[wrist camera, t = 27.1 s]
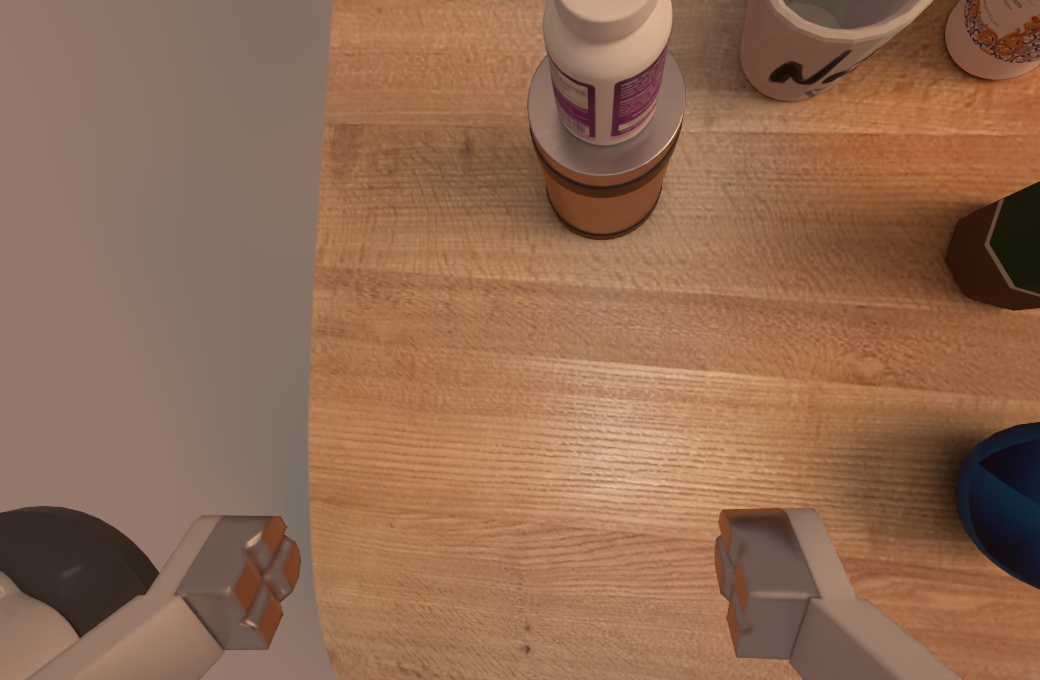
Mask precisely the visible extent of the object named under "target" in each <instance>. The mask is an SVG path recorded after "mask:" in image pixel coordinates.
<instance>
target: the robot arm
mask: <svg viewBox="0 0 1040 680" xmlns="http://www.w3.org/2000/svg"><path fill="white" fill-rule="evenodd" d="M718 523H719V527H720V531H721V535H720V536H719V537H718V538H716V543H715V567H716V574H717V580H718V584H719V588H720V593H721V594H722V595H723V596H724V597H725V598H726V599H727V600H728V601H729V607H728V613H727V622H728V626H729V630H730V634H731V638H732V642H733V646H734V650H735V654H736V657H739V658H762V659H785V660H790V662H789V663H790V664H791V665H792V666H793V668H794V669H795V670H796V671H797V672H798V674H799V675H800V676H801V677H802V678H803V679H804V680H963V679H961V678H960V677H959V676H958V675H957V674H956V673H954V672H953V671H952V670H951V669H950V668H948V667H947V666H946V665H945V664H944V663H943V662H941V661H940V660H939V659H938V658H937V657H935V656H934V655H933V654H932V653H931V652H929V651H928V650H927V649H926V648H925V647H924V646H922V645H921V644H920V643H919V642H918V641H916V640H915V639H914V638H913V637H912V636H911V635H909V634H908V633H907V632H906V631H905V630H903V629H902V628H901V627H900V626H899V625H898V624H896V623H895V622H894V621H893V620H892V619H890V618H889V617H888V616H887V615H886V614H884V613H883V612H882V611H881V610H880V609H879V608H877V607H876V606H875V605H874V604H873V603H871V602H870V601H869V600H868V599H857V597H856V594H855V592H854V590H853V588H852V586H851V583H850V581H849V579H848V577H847V575H846V572H845V570H844V568H843V566H842V564H841V561H840V559H839V557H838V555H837V553H836V550H835V548H834V546H833V544H832V542H831V539H830V537H829V535H828V533H827V531H826V528H825V526H824V524H823V522H822V520H821V517H820V515H819V513H818V512H817V511H816V510H815V509H813V508H797V509H780V508H762V509H725V510H722V511H721V513H720V516H719V522H718ZM286 529H287V526H286V524H285V522H284V521H283V519H282V518H281V516H228V515H219V516H218V515H217V516H201V517H199V518H198V519H197V520H195V521H194V522H193V523H192V524H191V526H190V527H189V529H188V530H187V532H186V533H185V535H184V537H183V538H182V540H181V541H180V543H179V544H178V546H177V547H176V549H175V550H174V552H173V553H172V555H171V556H170V558H169V559H168V561H167V563H166V564H165V566H164V567H163V569H162V570H161V572H160V573H159V575H158V576H157V578H156V579H155V581H154V582H153V584H152V585H151V587H150V589H149V590H148V592H147V593H146V595H137V596H136V597H135V598H133V599H132V600H131V601H129V602H128V603H127V604H125V605H124V606H123V607H121V608H120V609H119V610H117V611H116V612H115V613H113V614H112V615H111V616H109V617H108V618H107V619H105V620H104V621H103V622H101V623H100V624H99V625H97V626H96V627H94V628H93V629H92V630H90V631H89V632H88V633H86V634H85V635H84V636H82V637H81V638H79V636H78V635H77V633H76V632H75V630H74V629H73V627H72V626H71V625H70V623H69V622H68V621H67V620H66V619H65V618H64V617H63V616H62V615H61V614H60V613H59V612H58V611H57V610H55V609H54V608H53V607H51V606H49V605H48V604H46V603H44V602H42V601H40V600H38V599H35V598H33V597H31V596H29V595H27V594H25V593H23V592H22V591H21V590H20V589H19V588H18V587H17V585H16V584H15V583H14V582H13V581H12V580H11V579H10V578H9V577H8V576H7V575H6V574H5V573H4V572H2V571H0V680H200V679H201V678H202V677H203V675H204V674H205V673H206V672H207V671H208V670H209V669H210V668H211V667H212V666H213V665H214V664H215V663H216V662H217V661H218V660H219V659H220V657H221V656H222V655H223V654H224V653H225V652H224V650H268V649H269V646H270V644H271V642H272V639H273V637H274V635H275V632H276V630H277V628H278V625H279V623H280V620H281V618H282V616H283V611H282V607H281V601H283V600H284V599H285V598H286V597H287V596H288V595H289V594H291V593H292V592H293V590H294V587H295V585H296V582H297V580H298V577H299V572H300V565H301V557H300V551H299V548H298V546H297V544H296V542H295V541H293V540H292V539H290V538H289V537H287V536H286V535H284V533H285V531H286Z"/></svg>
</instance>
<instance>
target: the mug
mask: <svg viewBox="0 0 1040 680" xmlns="http://www.w3.org/2000/svg"><path fill="white" fill-rule="evenodd" d="M932 1H933V0H748V3H747V9H746V16H745V22H744V29H743V35H742V41H741V48H740V59H741V64H742V69H743V72H744V73H745V75H746V77H747V78H748V80H749V82H750V83H751V84H752V85H753V86H754V87H755V88H756V89H758V90H759V91H760V92H761V93H762V94H764V95H767V96H769V97H772V98H774V99H776V100H783V101H800V100H804V99H809V98H814V97H815V96H817V95H819V94H821V93H823V92H825V91H827V90H829V89H830V88H831V87H832V86H834V85H835V84H836V83H837V82H839V81H840V80H841V79H842V78H843V77H845V76H846V75H847V74H848V73H850V72H851V71H852V70H853V69H855V68H856V67H857V66H858V65H859V64H861V63H862V62H863V61H864V60H866V59H867V58H868V57H869V56H871V55H872V54H873V53H874V52H876V51H877V50H878V49H879V48H880V47H882V46H883V45H884V44H885V43H887V42H888V41H889V40H890V39H892V38H893V37H894V36H895V35H896V34H898V33H899V32H900V31H901V30H903V29H904V28H905V27H906V26H908V25H909V24H910V23H911V22H912V21H913V20H914V19H915V18H916V17H917V16H918V15H919V14H920V13H921V12H922V11H923V10H924V9H925V8H926V7H927V6H928V5H929V4H930V3H931V2H932Z"/></svg>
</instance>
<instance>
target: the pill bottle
mask: <svg viewBox="0 0 1040 680" xmlns="http://www.w3.org/2000/svg"><path fill="white" fill-rule="evenodd" d="M672 20H673V16H672V5H671V0H548V1H547V4H546V8H545V12H544V18H543V33H544V41H545V45H546V51H547V56H548V62H549V68H550V74H551V80H552V86H553V91H554V97H555V102H556V107H557V111H558V114H559V116H560V118H561V120H562V122H563V124H564V126H565V127H566V128H567V129H568V130H569V131H570V132H571V133H572V134H573V135H574V136H576V137H578V138H579V139H581V140H583V141H585V142H588V143H591V144H594V145H614V144H618V143H621V142H623V141H626V140H628V139H630V138H632V137H634V136H635V135H637V134H638V133H639V132H640V131H641V130H642V129H643V128H644V127H645V126H646V125H647V123H648V122H649V120H650V119H651V117H652V115H653V113H654V111H655V108H656V105H657V101H658V96H659V92H660V87H661V82H662V76H663V71H664V65H665V60H666V55H667V50H668V44H669V38H670V33H671V27H672Z"/></svg>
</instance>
